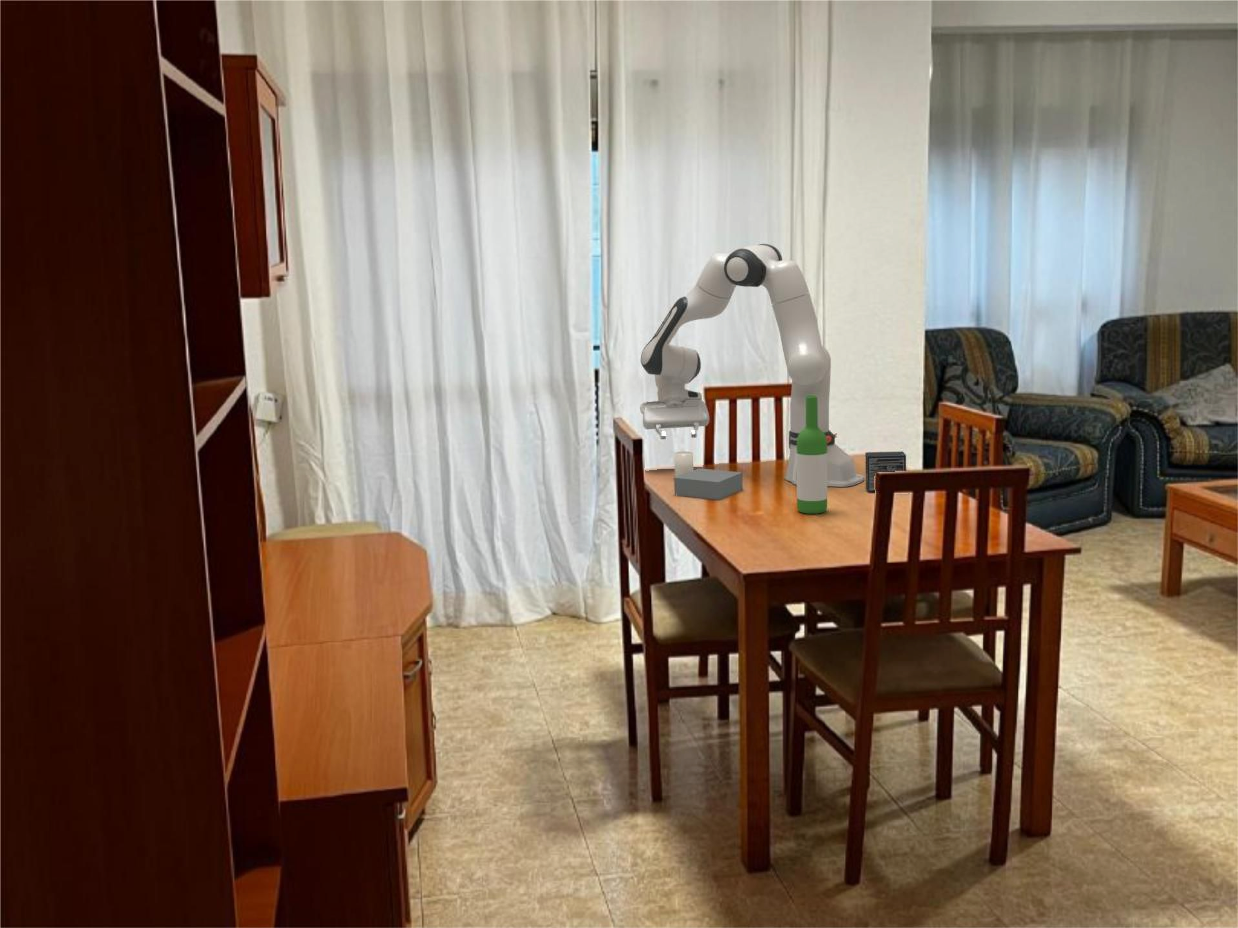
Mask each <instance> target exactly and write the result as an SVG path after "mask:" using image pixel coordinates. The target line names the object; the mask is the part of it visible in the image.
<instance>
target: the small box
mask: <svg viewBox="0 0 1238 928" xmlns="http://www.w3.org/2000/svg"><path fill="white" fill-rule="evenodd" d="M895 471H906V472H907V454H906V453H905V452H904V451H902V450H901V451H874V452H873V451H868V452H865V490H866V492H867V493H868V494H872V493H873V494H874V493H875V490H874V476H875V473H877V472H895ZM875 494H876V493H875Z"/></svg>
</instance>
